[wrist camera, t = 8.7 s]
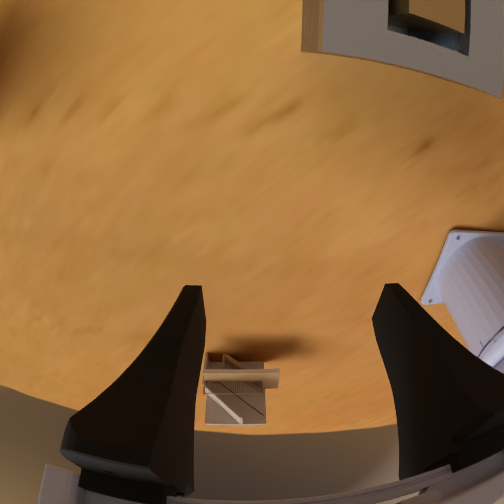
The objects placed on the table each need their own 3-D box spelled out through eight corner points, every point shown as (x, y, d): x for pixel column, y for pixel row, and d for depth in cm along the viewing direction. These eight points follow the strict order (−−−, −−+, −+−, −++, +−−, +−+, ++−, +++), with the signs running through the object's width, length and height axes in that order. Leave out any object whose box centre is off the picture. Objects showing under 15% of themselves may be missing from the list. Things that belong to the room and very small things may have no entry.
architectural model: (203, 339, 29) (196, 409, 23) (276, 338, 29) (282, 409, 23) (207, 359, 31) (202, 424, 25) (275, 358, 31) (279, 424, 25)
